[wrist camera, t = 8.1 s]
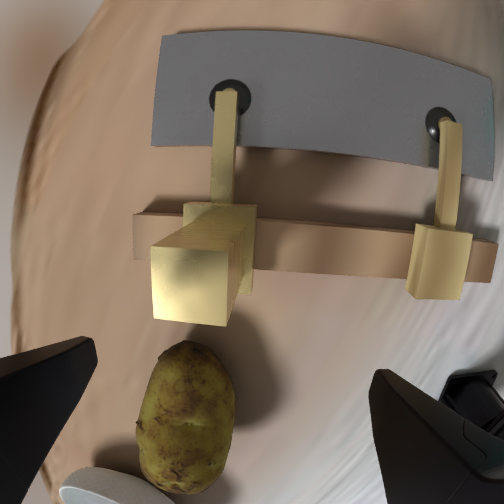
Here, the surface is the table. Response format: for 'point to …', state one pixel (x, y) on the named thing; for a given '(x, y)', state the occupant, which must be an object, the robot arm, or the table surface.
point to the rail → (367, 240)
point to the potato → (186, 420)
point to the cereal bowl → (109, 488)
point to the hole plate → (322, 97)
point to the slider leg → (208, 240)
